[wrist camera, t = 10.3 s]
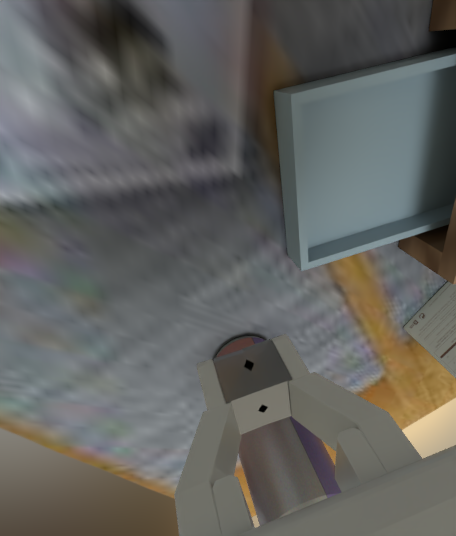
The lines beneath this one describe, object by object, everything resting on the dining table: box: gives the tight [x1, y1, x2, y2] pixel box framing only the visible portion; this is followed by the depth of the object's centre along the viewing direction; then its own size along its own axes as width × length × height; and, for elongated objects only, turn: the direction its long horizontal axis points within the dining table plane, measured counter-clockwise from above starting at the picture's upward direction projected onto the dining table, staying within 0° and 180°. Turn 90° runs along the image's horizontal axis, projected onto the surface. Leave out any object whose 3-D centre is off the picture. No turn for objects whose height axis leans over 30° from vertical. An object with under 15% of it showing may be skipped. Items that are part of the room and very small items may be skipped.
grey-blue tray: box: [274, 47, 456, 271], centre depth 23 cm, size 12×19×2 cm, turn 100°
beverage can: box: [216, 336, 341, 526], centre depth 26 cm, size 6×6×15 cm
